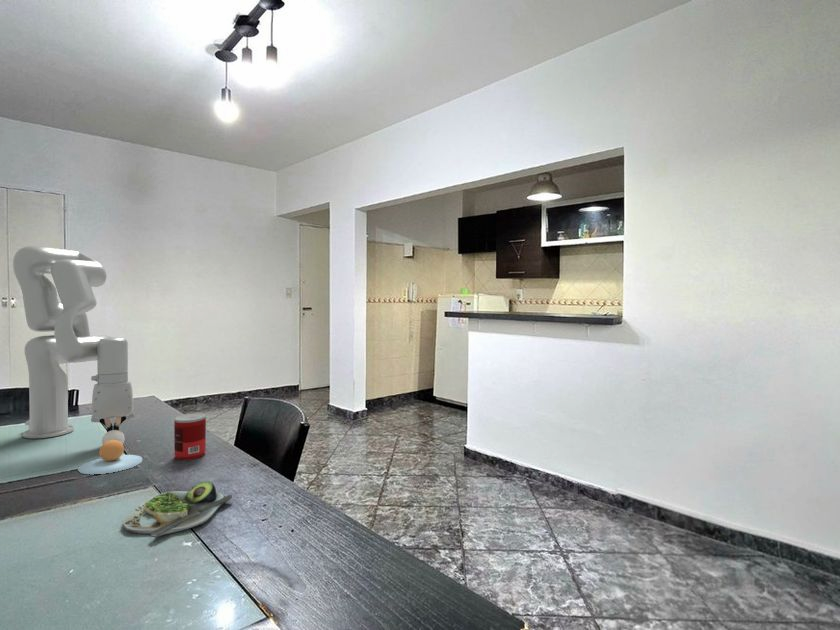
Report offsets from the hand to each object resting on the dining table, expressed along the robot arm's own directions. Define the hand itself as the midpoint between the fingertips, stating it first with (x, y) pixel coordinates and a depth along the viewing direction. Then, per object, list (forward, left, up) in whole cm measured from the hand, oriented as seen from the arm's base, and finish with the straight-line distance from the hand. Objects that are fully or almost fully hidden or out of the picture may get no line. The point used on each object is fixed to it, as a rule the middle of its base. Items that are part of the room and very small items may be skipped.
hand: (113, 438), depth 134 cm
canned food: (+29, -1, -2) cm, 29 cm away
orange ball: (+13, -11, +1) cm, 17 cm away
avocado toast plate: (+53, -29, -2) cm, 60 cm away
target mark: (+15, -13, -2) cm, 20 cm away
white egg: (+4, -3, +1) cm, 6 cm away
